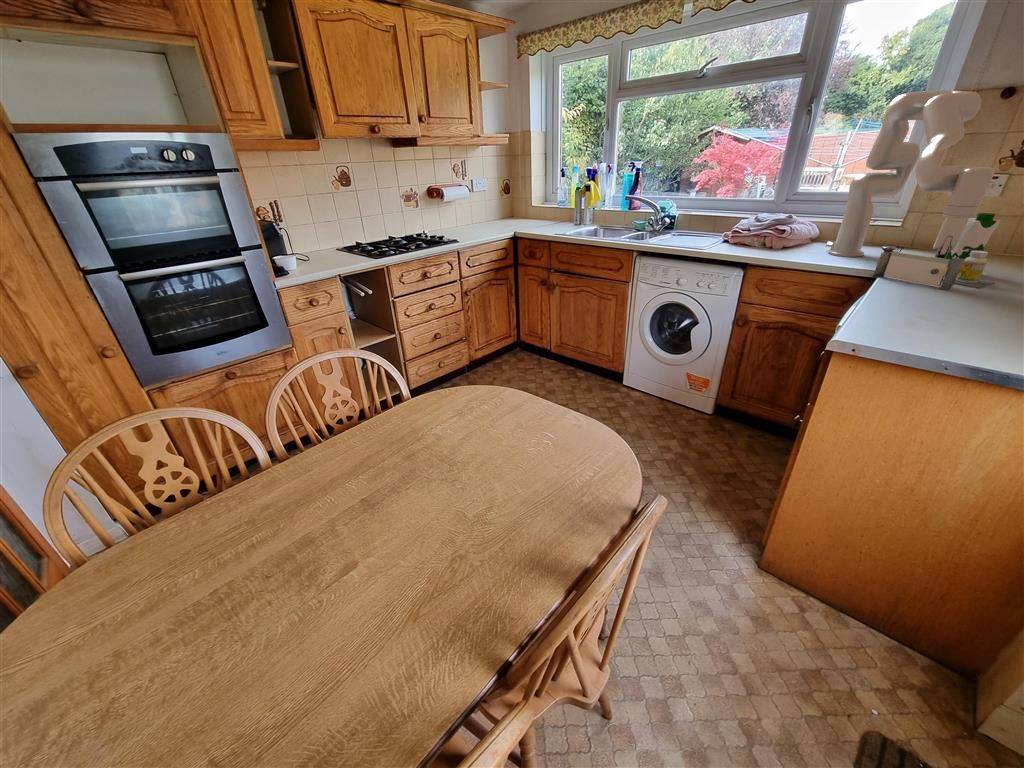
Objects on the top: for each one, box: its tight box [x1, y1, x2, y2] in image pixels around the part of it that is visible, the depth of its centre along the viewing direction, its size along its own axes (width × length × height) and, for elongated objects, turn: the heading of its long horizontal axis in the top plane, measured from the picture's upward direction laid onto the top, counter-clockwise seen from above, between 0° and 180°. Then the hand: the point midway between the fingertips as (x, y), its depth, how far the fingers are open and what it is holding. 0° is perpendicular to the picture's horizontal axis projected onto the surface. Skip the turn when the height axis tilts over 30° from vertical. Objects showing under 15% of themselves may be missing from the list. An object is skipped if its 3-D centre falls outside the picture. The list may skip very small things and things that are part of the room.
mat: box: [942, 277, 996, 289], centre depth 143 cm, size 10×10×1 cm
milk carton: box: [946, 212, 1001, 273], centre depth 151 cm, size 9×9×20 cm
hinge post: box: [873, 245, 897, 278], centre depth 152 cm, size 4×4×10 cm
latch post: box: [939, 258, 964, 291], centre depth 136 cm, size 3×3×10 cm
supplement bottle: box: [956, 250, 989, 283], centre depth 141 cm, size 5×5×10 cm
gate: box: [884, 251, 952, 288], centre depth 144 cm, size 16×2×8 cm, turn 24°
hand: (934, 270), depth 142 cm, fingers closed
